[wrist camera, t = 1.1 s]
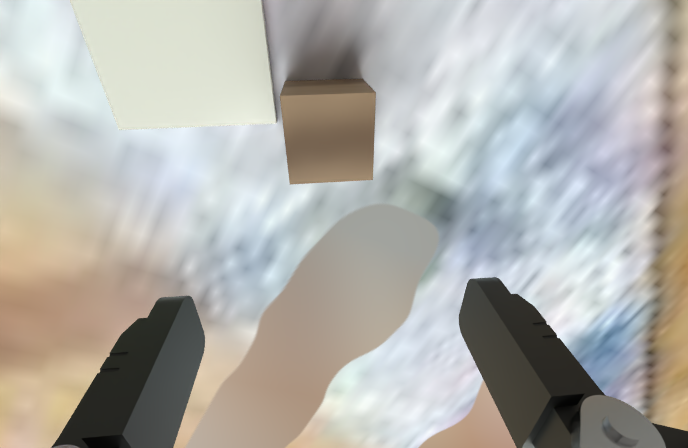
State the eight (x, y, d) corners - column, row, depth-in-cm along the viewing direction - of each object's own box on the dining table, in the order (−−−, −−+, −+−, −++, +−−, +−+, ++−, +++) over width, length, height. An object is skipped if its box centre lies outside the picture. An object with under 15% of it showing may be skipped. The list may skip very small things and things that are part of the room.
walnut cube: (285, 80, 25) (279, 95, 20) (362, 78, 26) (375, 92, 21) (293, 155, 28) (289, 184, 23) (361, 151, 29) (372, 179, 24)
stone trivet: (48, -76, 19) (39, -79, 19) (253, -75, 20) (251, -78, 20) (124, 127, 26) (119, 130, 25) (277, 121, 27) (276, 123, 26)
